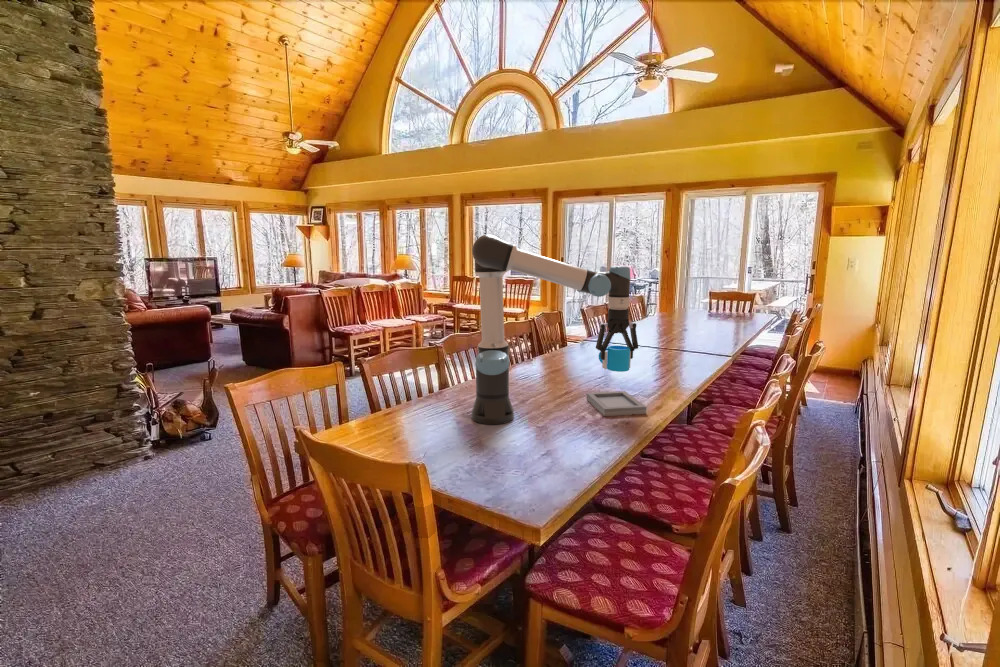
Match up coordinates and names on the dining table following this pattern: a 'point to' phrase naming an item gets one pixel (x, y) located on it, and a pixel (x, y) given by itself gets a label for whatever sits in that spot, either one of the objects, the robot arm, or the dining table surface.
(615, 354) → the mug
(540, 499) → the dining table surface
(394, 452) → the dining table surface
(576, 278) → the robot arm
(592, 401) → the tray
